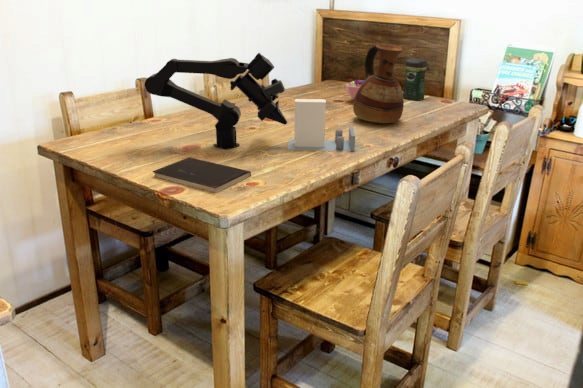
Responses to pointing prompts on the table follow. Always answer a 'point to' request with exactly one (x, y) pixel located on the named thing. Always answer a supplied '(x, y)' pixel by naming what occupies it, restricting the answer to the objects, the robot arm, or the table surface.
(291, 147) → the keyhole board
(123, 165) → the table surface
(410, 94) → the coffee jar
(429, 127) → the table surface
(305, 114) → the panel
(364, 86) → the ceramic pitcher
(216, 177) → the hardcover book
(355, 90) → the cell model
